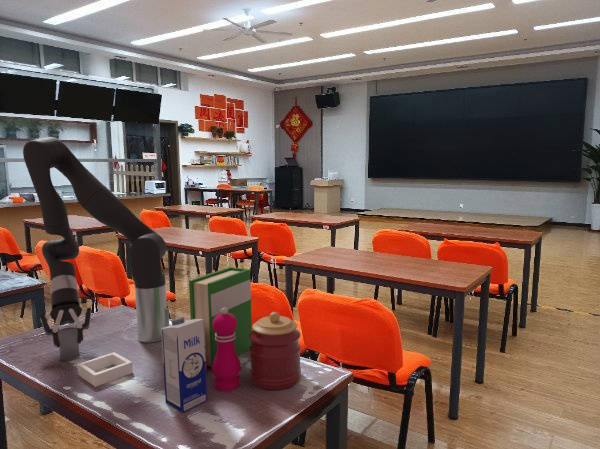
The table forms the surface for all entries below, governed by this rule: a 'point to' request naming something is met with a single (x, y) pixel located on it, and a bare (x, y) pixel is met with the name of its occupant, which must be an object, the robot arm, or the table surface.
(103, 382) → the socket
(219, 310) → the hardback book
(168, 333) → the milk carton
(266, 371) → the canister
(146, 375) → the table surface
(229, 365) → the pepper mill
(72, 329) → the peg
